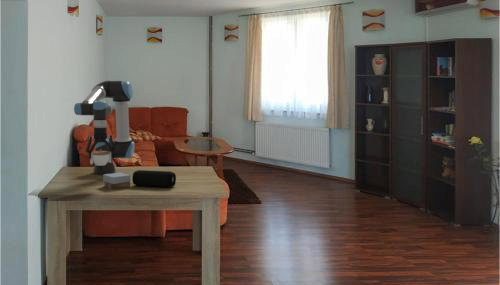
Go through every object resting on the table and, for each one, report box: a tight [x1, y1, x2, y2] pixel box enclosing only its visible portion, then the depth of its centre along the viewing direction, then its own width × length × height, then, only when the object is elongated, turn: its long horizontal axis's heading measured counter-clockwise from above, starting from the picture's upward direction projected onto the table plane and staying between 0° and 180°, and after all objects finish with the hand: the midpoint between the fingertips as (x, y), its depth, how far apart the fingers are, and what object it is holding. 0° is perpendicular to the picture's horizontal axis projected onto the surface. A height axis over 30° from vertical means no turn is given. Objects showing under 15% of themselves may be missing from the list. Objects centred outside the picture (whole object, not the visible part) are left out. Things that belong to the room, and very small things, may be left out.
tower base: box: [103, 181, 131, 190], centre depth 358 cm, size 12×12×4 cm
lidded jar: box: [92, 149, 110, 166], centre depth 350 cm, size 11×11×9 cm
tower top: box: [102, 172, 131, 184], centre depth 357 cm, size 12×12×4 cm
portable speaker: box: [131, 169, 177, 189], centre depth 360 cm, size 26×10×10 cm, turn 82°
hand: (100, 163), depth 351 cm, fingers closed on lidded jar, 11 cm apart
